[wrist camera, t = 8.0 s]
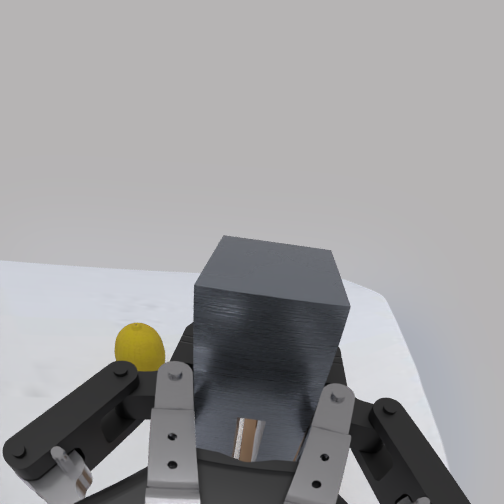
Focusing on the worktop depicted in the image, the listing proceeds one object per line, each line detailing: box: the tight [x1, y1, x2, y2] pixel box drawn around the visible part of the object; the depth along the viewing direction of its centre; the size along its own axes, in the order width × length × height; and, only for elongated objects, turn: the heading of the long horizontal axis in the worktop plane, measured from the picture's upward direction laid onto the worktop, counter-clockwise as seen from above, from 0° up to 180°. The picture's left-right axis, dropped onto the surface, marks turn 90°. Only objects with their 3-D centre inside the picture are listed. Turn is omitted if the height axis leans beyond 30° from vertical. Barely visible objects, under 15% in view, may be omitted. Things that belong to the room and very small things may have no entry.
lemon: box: [115, 323, 165, 371], centre depth 30 cm, size 6×6×8 cm
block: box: [193, 236, 351, 462], centre depth 12 cm, size 4×4×12 cm
